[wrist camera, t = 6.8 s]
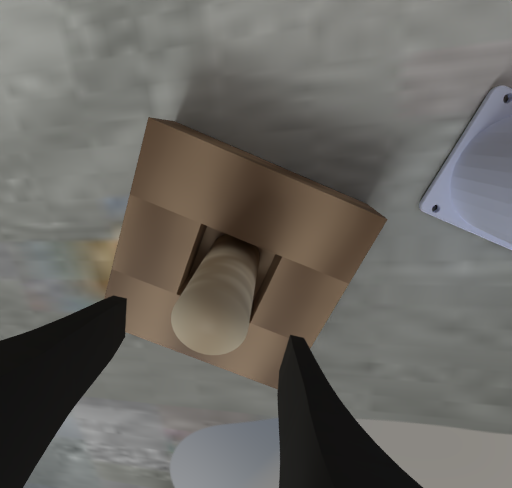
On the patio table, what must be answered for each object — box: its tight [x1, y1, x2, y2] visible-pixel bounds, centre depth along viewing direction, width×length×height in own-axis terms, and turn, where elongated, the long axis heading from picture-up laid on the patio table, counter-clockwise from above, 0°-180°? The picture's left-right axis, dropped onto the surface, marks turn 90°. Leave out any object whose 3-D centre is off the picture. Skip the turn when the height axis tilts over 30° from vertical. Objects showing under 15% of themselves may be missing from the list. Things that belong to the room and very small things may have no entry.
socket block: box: [104, 117, 387, 389], centre depth 20 cm, size 14×14×4 cm
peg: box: [171, 234, 260, 355], centre depth 17 cm, size 4×4×8 cm
